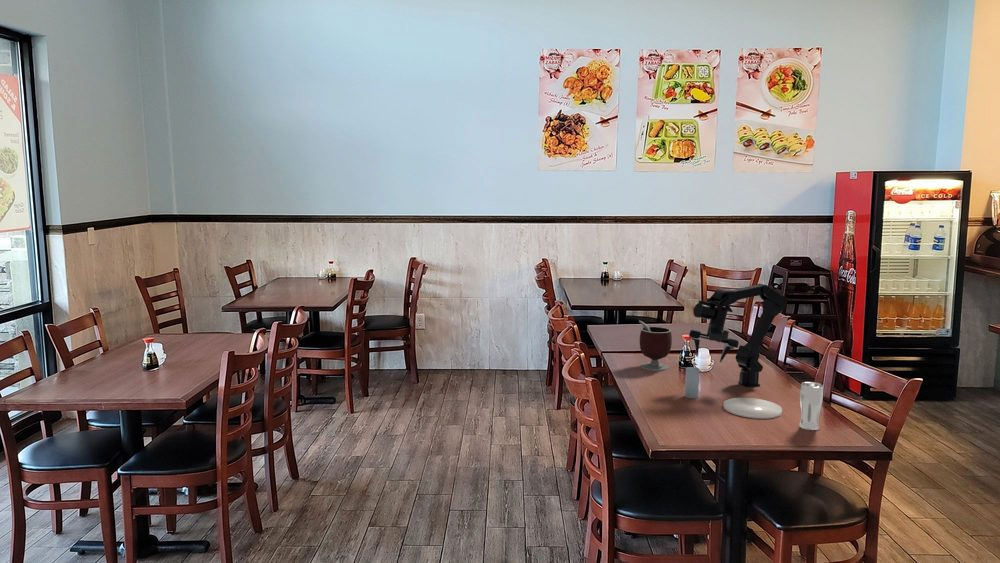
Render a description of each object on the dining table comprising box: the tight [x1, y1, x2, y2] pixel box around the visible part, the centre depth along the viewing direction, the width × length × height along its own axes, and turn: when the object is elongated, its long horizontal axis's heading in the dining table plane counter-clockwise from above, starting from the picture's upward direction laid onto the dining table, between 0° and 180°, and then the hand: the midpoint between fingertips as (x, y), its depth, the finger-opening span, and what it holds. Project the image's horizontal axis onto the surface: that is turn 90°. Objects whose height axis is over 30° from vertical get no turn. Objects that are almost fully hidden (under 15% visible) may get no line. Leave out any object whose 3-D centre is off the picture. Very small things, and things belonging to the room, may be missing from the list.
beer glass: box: [798, 381, 824, 431], centre depth 234 cm, size 7×7×15 cm
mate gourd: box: [638, 320, 673, 372], centre depth 309 cm, size 16×14×20 cm
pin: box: [684, 366, 700, 399], centre depth 267 cm, size 5×5×11 cm
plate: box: [722, 397, 783, 420], centre depth 253 cm, size 20×20×1 cm
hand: (708, 359), depth 276 cm, fingers open, 9 cm apart
